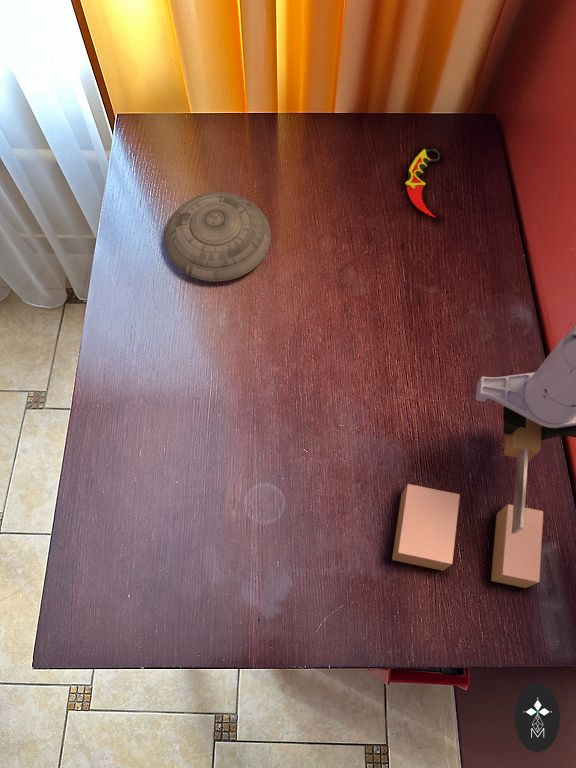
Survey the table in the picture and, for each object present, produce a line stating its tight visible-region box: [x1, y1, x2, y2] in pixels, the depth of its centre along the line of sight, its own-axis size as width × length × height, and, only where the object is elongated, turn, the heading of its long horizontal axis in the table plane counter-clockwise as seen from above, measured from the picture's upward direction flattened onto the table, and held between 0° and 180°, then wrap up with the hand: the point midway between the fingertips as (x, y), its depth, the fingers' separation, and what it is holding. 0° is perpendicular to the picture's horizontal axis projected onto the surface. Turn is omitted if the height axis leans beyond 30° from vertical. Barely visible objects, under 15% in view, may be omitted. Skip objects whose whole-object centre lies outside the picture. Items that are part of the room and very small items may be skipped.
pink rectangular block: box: [391, 483, 461, 572], centre depth 79 cm, size 6×8×4 cm
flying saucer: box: [163, 191, 272, 282], centre depth 95 cm, size 15×15×6 cm
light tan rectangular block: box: [490, 503, 544, 589], centre depth 78 cm, size 4×8×4 cm, turn 168°
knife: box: [404, 147, 441, 219], centre depth 102 cm, size 13×1×5 cm
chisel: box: [503, 418, 542, 534], centre depth 76 cm, size 15×3×4 cm, turn 169°
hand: (522, 429), depth 78 cm, fingers closed on chisel, 3 cm apart
